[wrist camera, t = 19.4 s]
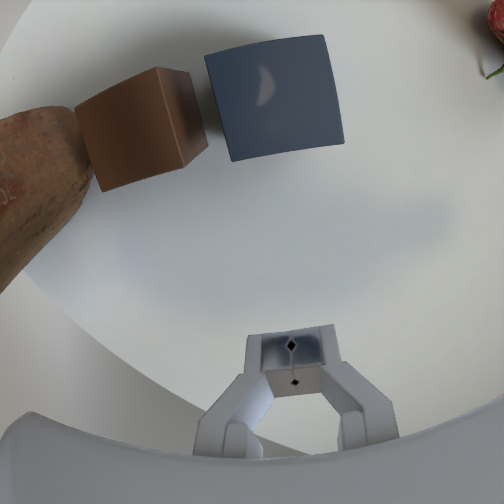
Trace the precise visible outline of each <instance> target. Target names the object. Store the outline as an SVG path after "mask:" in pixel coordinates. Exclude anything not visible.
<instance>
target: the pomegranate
mask: <svg viewBox="0 0 504 504" xmlns="http://www.w3.org/2000/svg"><path fill="white" fill-rule="evenodd" d="M487 23H488V26H489V28H490V30H491V31H492V32H493V33H494V35H495V36H496V37H497V38H498V39H499V40H500V41H501V42H503V43H504V0H495V1H494V2H492V5H491V7H490V9H489V11H488V19H487ZM502 72H504V64H503V66H502V67H501V68H499V69H498V70H497V71H495V72H494V73H492V74H491V75H489V76H488V77H487V78H486V79H487V80H488V79H489V78H491V77H492V76H494V75H497V74H499V73H502Z"/></svg>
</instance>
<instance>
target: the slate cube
mask: <svg viewBox="0 0 504 504" xmlns="http://www.w3.org/2000/svg"><path fill="white" fill-rule="evenodd" d="M204 59H205V62H206V66H207V70H208V74H209V78H210V81H211V85H212V89H213V93H214V97H215V101H216V104H217V108H218V112H219V116H220V120H221V124H222V127H223V131H224V135H225V139H226V143H227V147H228V151H229V154H230V158H231V161H232V162H235V161H240V160H245V159H250V158H255V157H260V156H266V155H271V154H277V153H282V152H289V151H295V150H301V149H308V148H315V147H322V146H330V145H339V144H344V143H345V141H344V134H343V127H342V121H341V114H340V108H339V103H338V97H337V92H336V86H335V81H334V77H333V72H332V67H331V63H330V58H329V54H328V50H327V46H326V42H325V38H324V35H310V36H300V37H291V38H284V39H277V40H271V41H265V42H259V43H254V44H249V45H244V46H240V47H235V48H231V49H227V50H223V51H219V52H216V53H212V54H208V55H205V56H204Z"/></svg>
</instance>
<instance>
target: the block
mask: <svg viewBox="0 0 504 504" xmlns="http://www.w3.org/2000/svg"><path fill="white" fill-rule="evenodd" d="M93 174H94V169H93V167H92V164H91V161H90V158H89V155H88V152H87V149H86V146H85V143H84V140H83V136H82V133H81V130H80V126H79V123H78V119H77V116H76V113H74V112H73V111H71V110H69V109H68V108H65V107H63V106H49V107H40V108H36V109H32V110H29V111H26V112H20V113H17V114H14V115H12V116H10V117H7V118H4V119H1V120H0V294H1V293H2V292H3V291H4V289H5V288H6V287H7V286H8V285H9V284H10V283H11V281H12V280H13V279H14V278H15V277H16V275H18V273H19V272H20V271H21V270H22V269H23V268H24V267H25V266H26V265H27V264H28V263H29V262H30V261H31V260H32V259H33V258H34V257H35V256H36V255H37V254H38V253H39V252H40V251H41V250H42V248H43V247H44V246H45V245H46V244H47V243H48V242H49V241H50V240H51V239H52V238H53V237H54V236H55V235H56V234H57V233H58V232H59V231H60V230H61V229H62V228H63V227H64V226H65V225H66V223H67V222H68V221H69V220H70V219H71V217H72V216H73V215H74V214H75V213H76V212H77V210H78V209H79V207H80V206H81V204H82V200H83V198H84V197H85V195H86V193H87V190H88V188H89V185H90V181H91V179H92V177H93Z"/></svg>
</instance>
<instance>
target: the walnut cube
mask: <svg viewBox="0 0 504 504" xmlns="http://www.w3.org/2000/svg"><path fill="white" fill-rule="evenodd" d="M75 112H76V116H77V119H78V123H79V126H80V130H81V133H82V136H83V140H84V143H85V146H86V149H87V152H88V155H89V158H90V161H91V164H92V167H93V169H94V172H95V175H96V178H97V180H98V183H99V186H100V188H101V191H102V192H106V191H109V190H112V189H115V188H118V187H121V186H124V185H127V184H130V183H133V182H136V181H139V180H142V179H146V178H149V177H152V176H156V175H159V174H163V173H166V172H170V171H173V170H177V169H181V168H184V167H185V166H187V165H188V164H189V163H190V162H191V161H192V160H193V159H194V158H195V157H197V156H198V155H199V154H200V153H201V152H202V151H203V150H204V149H206V148H207V147H208V142H207V139H206V135H205V131H204V128H203V124H202V120H201V116H200V113H199V109H198V105H197V101H196V98H195V94H194V90H193V86H192V82H191V79H190V75H189V73H188V72H183V71H178V70H172V69H167V68H161V67H154V68H152V69H150V70H147V71H145V72H142V73H140V74H138V75H135V76H133V77H131V78H129V79H127V80H125V81H122V82H120V83H118V84H116V85H114V86H112V87H110V88H108V89H106V90H104V91H103V92H101V93H99V94H97V95H95V96H93V97H91V98H90V99H88V100H86V101H84V102H83V103H81V104H79V105H78V106H76V107H75Z"/></svg>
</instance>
